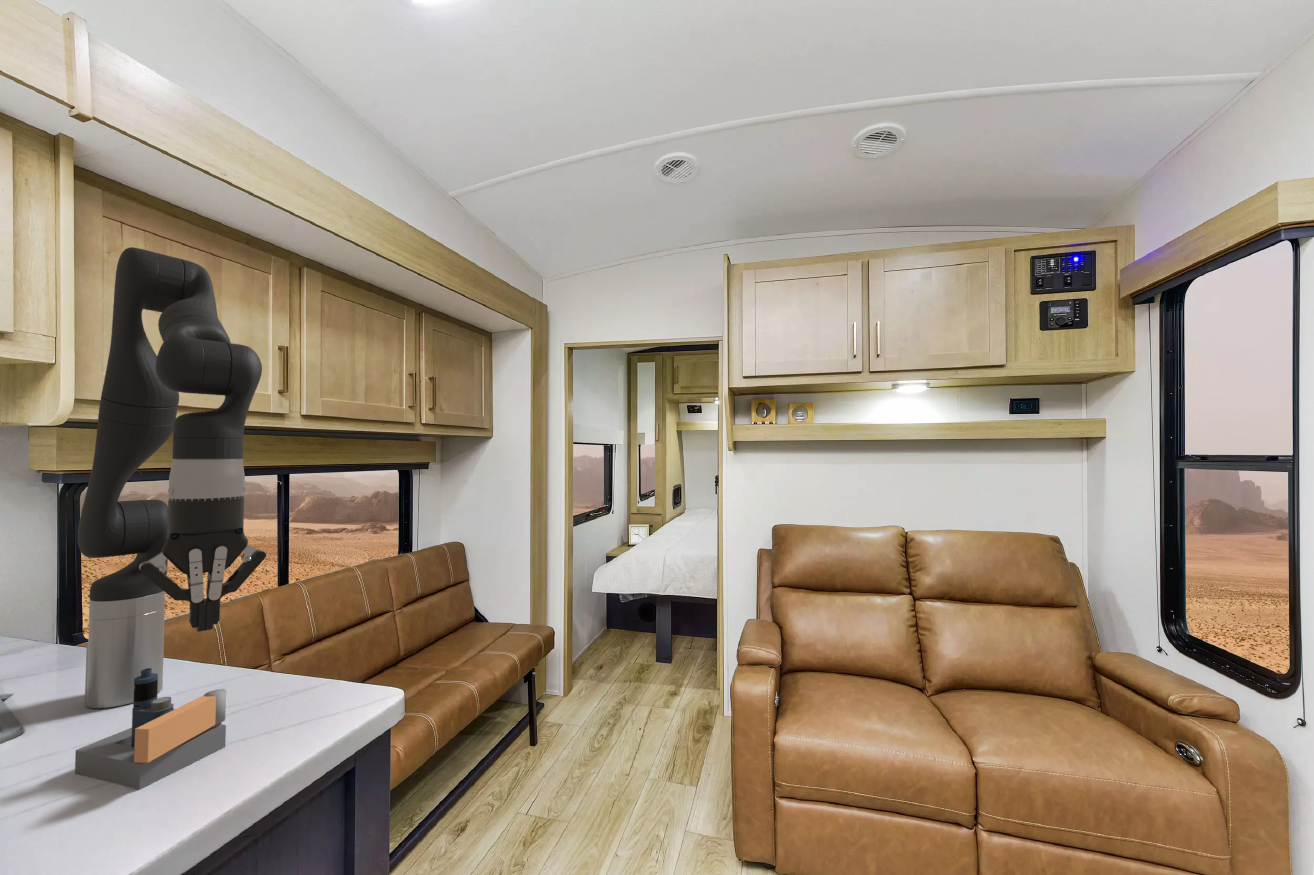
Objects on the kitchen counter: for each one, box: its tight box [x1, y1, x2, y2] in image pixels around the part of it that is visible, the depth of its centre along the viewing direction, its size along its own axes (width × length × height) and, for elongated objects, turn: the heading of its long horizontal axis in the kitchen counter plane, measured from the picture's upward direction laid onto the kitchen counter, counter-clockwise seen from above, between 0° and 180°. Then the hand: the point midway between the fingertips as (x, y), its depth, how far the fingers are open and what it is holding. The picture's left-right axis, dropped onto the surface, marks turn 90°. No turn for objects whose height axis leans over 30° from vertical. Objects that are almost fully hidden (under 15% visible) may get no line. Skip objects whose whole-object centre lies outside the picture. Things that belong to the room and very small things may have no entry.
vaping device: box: [131, 668, 176, 747], centre depth 72 cm, size 3×5×12 cm, turn 80°
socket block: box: [74, 722, 227, 790], centre depth 72 cm, size 12×10×3 cm
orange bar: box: [134, 688, 227, 763], centre depth 71 cm, size 11×2×4 cm, turn 176°
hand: (204, 629), depth 69 cm, fingers closed
